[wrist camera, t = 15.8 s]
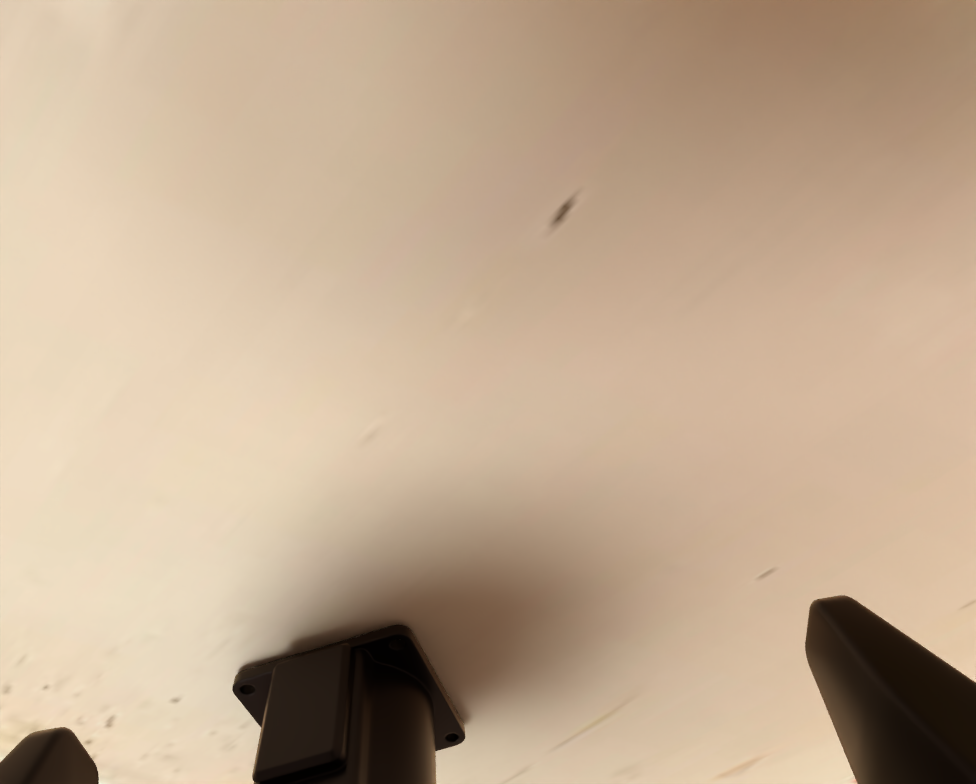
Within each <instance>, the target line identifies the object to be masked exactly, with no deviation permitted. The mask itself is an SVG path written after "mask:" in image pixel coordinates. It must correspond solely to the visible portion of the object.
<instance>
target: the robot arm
mask: <svg viewBox="0 0 976 784" xmlns="http://www.w3.org/2000/svg"><path fill="white" fill-rule="evenodd" d="M396 639H400V640H396ZM805 650H806V656H807V660H808V663H809V666H810V669H811V671H812V674H813V676H814V678H815V681H816V683H817V686H818V688H819V691H820V693H821V696H822V698H823V700H824V703H825V705H826V708H827V710H828V713H829V715H830V718H831V720H832V722H833V725H834V727H835V730H836V732H837V735H838V737H839V740H840V742H841V744H842V747H843V749H844V752H845V754H846V757H847V759H848V762H849V764H850V767H851V769H852V771H853V774H854V776H855V778H856V780H857V783H858V784H976V683H975V682H974V681H972V680H971V679H970V678H968V677H967V676H965V675H964V674H962V673H961V672H959V671H958V670H956V669H955V668H953V667H952V666H951V665H949V664H948V663H946V662H945V661H943V660H942V659H940V658H939V657H937V656H936V655H935V654H933V653H932V652H930V651H929V650H927V649H926V648H924V647H923V646H921V645H920V644H918V643H917V642H916V641H914V640H913V639H911V638H910V637H908V636H907V635H905V634H904V633H902V632H901V631H899V630H898V629H897V628H895V627H894V626H892V625H891V624H889V623H888V622H886V621H885V620H883V619H882V618H881V617H879V616H878V615H876V614H875V613H873V612H872V611H870V610H869V609H867V608H866V607H864V606H863V605H862V604H860V603H859V602H857V601H856V600H854V599H852V598H850V597H848V596H834V597H828V598H822V599H817V600H814V601H813V603H812V604H811V606H810V610H809V618H808V626H807V634H806V642H805ZM233 692H234V694H235V695H236V697H237V698H238V699H239V700H240V702H241V703H242V704H243V705H244V707H245V708H246V709H247V710H248V712H249V713H250V714H251V715H252V717H253V718H254V719H255V720H256V722H257V723H258V724H259V725H260V727H261V733H260V739H259V744H258V749H257V754H256V759H255V764H254V770H253V775H252V776H253V781H254V784H436V761H435V751H437V750H441V749H444V748H448V747H451V746H455V745H458V744H460V743H462V742H463V741H464V739H465V727H464V724H463V722H462V720H461V718H460V717H459V715H458V713H457V711H456V709H455V708H454V706H453V704H452V702H451V700H450V699H449V697H448V695H447V693H446V691H445V690H444V688H443V686H442V684H441V682H440V681H439V679H438V677H437V675H436V673H435V672H434V670H433V668H432V666H431V664H430V663H429V661H428V659H427V657H426V655H425V654H424V652H423V650H422V648H421V646H420V645H419V643H418V641H417V639H416V637H415V636H414V634H413V632H412V631H411V629H410V628H408V627H406V626H404V625H394V626H390V627H387V628H383V629H380V630H377V631H373V632H370V633H367V634H364V635H360V636H357V637H354V638H350V639H347V640H344V641H340V642H337V643H334V644H330V645H327V646H324V647H320V648H317V649H314V650H311V651H307V652H304V653H301V654H297V655H294V656H291V657H287V658H284V659H281V660H277V661H274V662H271V663H268V664H264V665H261V666H258V667H254V668H251V669H248V670H244V671H242V672H240V673H238V674H237V675H236V676H235V681H234V685H233ZM98 780H99V777H98V771H97V767H96V765H95V763H94V761H93V760H92V758H91V757H90V756H89V754H88V753H87V751H86V750H85V748H84V747H83V746H82V744H81V743H80V741H79V740H78V738H77V737H76V736H75V734H74V733H73V732H72V731H71V730H70V729H68V728H65V727H60V728H54V729H48V730H42V731H37V732H34V733H31V734H29V735H28V736H27V737H25V738H24V739H23V740H22V741H21V742H20V743H19V744H18V745H17V746H16V747H15V748H14V749H13V750H12V751H11V752H10V753H9V754H8V755H7V756H6V757H5V758H4V759H3V760H2V761H1V762H0V784H98Z"/></svg>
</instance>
